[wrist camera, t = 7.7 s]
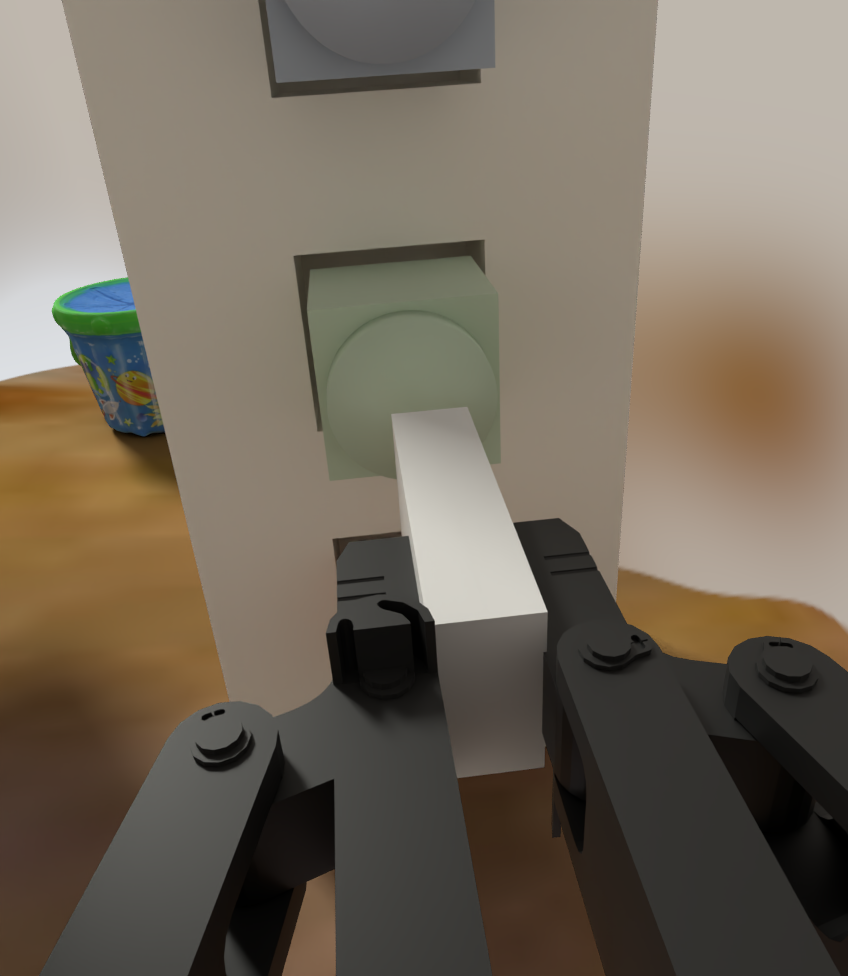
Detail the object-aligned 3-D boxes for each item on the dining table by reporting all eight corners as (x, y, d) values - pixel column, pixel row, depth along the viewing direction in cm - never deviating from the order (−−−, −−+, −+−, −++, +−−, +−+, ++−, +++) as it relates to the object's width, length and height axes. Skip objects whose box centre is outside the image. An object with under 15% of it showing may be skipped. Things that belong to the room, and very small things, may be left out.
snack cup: (274, 418, 62) (252, 288, 57) (156, 470, 55) (120, 327, 50) (161, 379, 71) (134, 264, 66) (49, 420, 64) (9, 295, 59)
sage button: (329, 418, 24) (309, 269, 21) (475, 403, 24) (470, 255, 22) (329, 496, 19) (306, 320, 17) (506, 477, 20) (504, 302, 18)
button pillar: (266, 622, 39) (100, -225, 24) (545, 590, 40) (559, -246, 25) (249, 784, 30) (-32, -391, 15) (606, 738, 31) (687, -413, 16)
